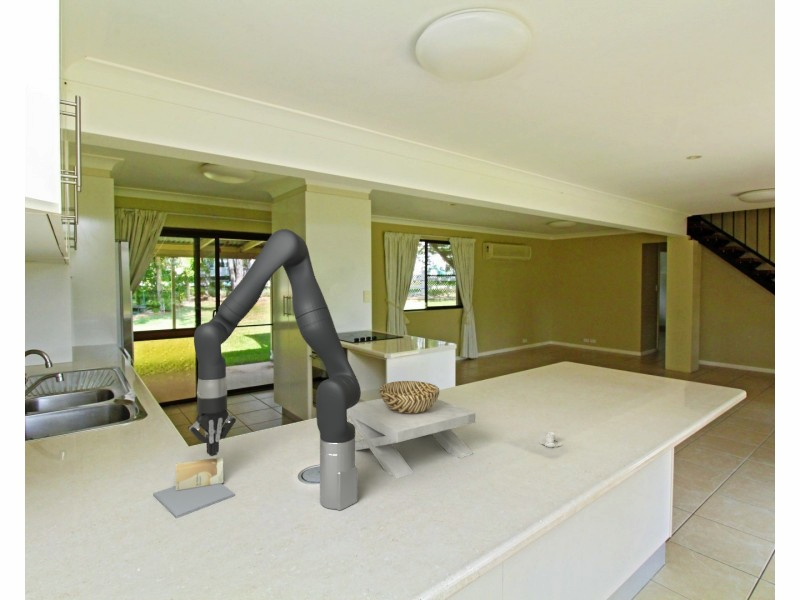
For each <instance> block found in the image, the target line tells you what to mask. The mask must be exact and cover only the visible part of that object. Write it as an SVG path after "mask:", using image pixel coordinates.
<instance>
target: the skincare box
mask: <svg viewBox="0 0 800 600" xmlns="http://www.w3.org/2000/svg"><path fill="white" fill-rule="evenodd" d="M224 475H225V474H224V458H223V456H219V457H213V458H212V457H211V458H206V459H204V458H203V459H199V460H191V461H183V462H178V463H176V464H175V486H176V491H178V490H184V489H190V488H196V487H202V486H208V485H214V484H220V483H221V484H223V483H224V481H225V480H224V479H225V478H224Z"/></svg>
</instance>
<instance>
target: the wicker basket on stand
mask: <svg viewBox="0 0 800 600" xmlns="http://www.w3.org/2000/svg"><path fill="white" fill-rule="evenodd" d="M379 393H380V397H381V398H376V399H372V400H365V401H361V402H360V401H359V402H358V403H357V404H356V405H355V406H353V407H351V408H349V409H347V418H349V421H350V423H352V424H353V425H354V426H355V430H357V432H358V433H359V435H360V436H361V438H362V439H363V440H360V441H355V451H359V450H360V451H361V450H365V449H369V450H370V451H371V452H372V454H373V455H374V457H375V458H376V460H377V462H379V464H380V466H381V467H382V469H383V470H384V471H385V472H387V473H388V474H389V475H391V476H393V477H394V478H395V479H398V478H399V479H400V478H402V477H406V476H409V475H412V474H414V471H413V470H412V468H411V467H410V466H409V464H408V463H407V462H406V460H405V459H404V458H403V456H402V455H401V454H400V452H399V451H398V450H397V448H396V447H395V446H394V444H396V443H401V442H404V441H408V440H409V441H410V440H412V439H416V438H420V437H424V436H428V435H432V437H434V438H435V439H436V441H437V442H438V443H439V445H441V447H442V448H443V449H444V451H446V452H447V453H449V454H451V455H452V454H453V456H454V455H455V457H456V456H457V458H458V457H459V458H458V459H461V458H460V457H462V458H464V456H465V457H468V456H470V455H469V454H471V455H473V454H472V453H473V451H472V450H471V449H470V448H469V447H468V446H467V445H466V443H464V442H463V440H462V439H461V438H460V437H459V436H458V435H457V434H456V432H454V431H453V429H455V428H459V427H464V426H466V425H467V426H468V425H470V424H474V423H476V412H474V411H470V410H468V409H465V408H462V407H459V406H458V405H455V404H452V403H449V402H446V401H444V400H440V399H439V396H440V388H439V387H438V386H436V384H433V383H429V382H425V381H418V380H417V381H416V380H400V381H399V380H398V381H393V382H388V383H384V384H382V385H381V386H380V387H379ZM467 455H468V456H467ZM411 473H412V474H411ZM408 474H409V475H408ZM405 475H406V476H405Z"/></svg>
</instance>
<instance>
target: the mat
mask: <svg viewBox="0 0 800 600" xmlns="http://www.w3.org/2000/svg"><path fill="white" fill-rule="evenodd" d="M152 495H153V497H154V498H155V499H156V500H157V501H159V503H160V504H161V505H162V506H163V507H164V508H165V509H166V510H168V512H169V513H170V514H171V515H172V516H173V517H174V518H175V519H178V518H180V517H183V516H186V515H188V514H191V513H194V512H196V511H199V510H201V509H204V508H207V507H209V506H211V505H215V504H217V503H220V502H222V501H225V500H227V499H231V498H233V497H235V496H236V494H235V492H233V491H232V490H231V489H229V488H228V487H226V486H225V485H224V484H223V483H220V484H214V485H208V486H202V487H196V488H190V489H184V490H178V491H176V485H174V486H171V487H167V488H165V489H162V490H159V491H157V492H153V493H152Z"/></svg>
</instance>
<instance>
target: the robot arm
mask: <svg viewBox="0 0 800 600" xmlns="http://www.w3.org/2000/svg"><path fill="white" fill-rule="evenodd" d="M281 267H282V268H283V269H284V272H285V274H286V276H287V278H288V279H287V280H288V281H289V284H290V288H291V293H292V294H291V298H292V308H293V309H292V310H293V314H294V319H295V321H296V325H297V327H298V330H299V333H300V334H301V337H302V338H303V341H305V343H306V344H307V345H308V346H309V347H310V349H311V350H312V351H313V352H314V353H315V354H316V355H317V356H318V357H319V359H320V360H321V361H322V363H323V365H324V367H325V370H326V373H327V376H328V378H327V379H325V380H322V381H321V382H320V384H319V385H318V386H317V389H316V394H315V410H316V426H317V429H318V432H319V503H320V505H321V506H322V507H324V508H326V509H331V510H337V511H342V510H344V509H346V508H348V507H349V506H351V505H354V504H356V503H357V502H358V470H359V469H358V466H356V450H355V442H356V427H355V426H354V424H353V423H352V422H351V421H348V416H347V409H349V408H351V407H353V406H355V405H356V404H357V403H359V402H360V399H361V396H362V395H361V394H362V393H361V392H362V391H361V385H360V383H359V380H358V378H357V375H356V374H355V371H354V370H353V368H352V365H351V364H350V362H349V359H348V357H347V356H346V352H345V350H344V348H343V345H342V343H341V340H340V337H339V335H338V332H337V330H336V327H335V324H334V320H333V318H332V315H331V312H330V309H329V307H328V304H327V302H326V299H325V296H324V295H323V292H322V289H321V287H320V285H319V283H318V281H317V278H316V276H315V272H314V269H313V265H312V261H311V256H310V252H309V248H308V245H307V243H306V241H305V240H304V239H303V238H302V237H301V236H299V234H297V233H296V232H295V231H293V230H291V229H287V228H282V229H281V228H280V229H278V230H276V231H274V232H273V233H272V234H271V235H270V236H269V238H268V239H267V240H266V243H265V244H264V245H263V247H262V249H261V251H260V253H259V254H258V255H257V257H256V258H255V260H254V261H253V263H252V264H251V266H250V268H249V269H248V271H247V272H246V273H245V275H244V276H243V277H242V279H241V280H240V281H239V282H238V284H236V286H235V287H234V288H233V290H231V291H230V293H229V294H228V295H227V296H226V297H225V299H223V301H222V302H221V303H220V304H219V306H218V310H217V312H216V313H215V315H213V317H211V319H210V320H209V321H207V322H204V323H201V324H199V325H198V326H197V327H196V329H195V331H194V335H193V345H194V351H195V355H196V359H197V362H198V368H197V369H198V370H197V373H198V374H197V376H198V377H197V379H198V380H197V389H196V390H197V391H196V397H197V398H196V399H197V417H196V419H195V422H194V423H193V424H192V425H188V427H187V430H188V431H189V432H190V433H191V434H193V436H195V438H197V439H198V440H199V441H200V442H201V443H203V444H206V453H207V455H208V456H210V457H214V456H218V453H219V451H220V441H221V439H225V438H226V437H227V435H228V434H229V433H230V431H231V429H232V427H233V426H234V424H235V423H236V420H237V418H235V417H234V416H230V415H229V411H228V383H227V362H226V358H225V357H224V356H223V355H222V347H221V345H222V344H224V343H225V342H226V341H227V340H228V339H229V338H230V336H231V335H232V334H233V333H234V331H235V329H236V328H237V327H238V326H239V324H240V322H241V321H242V320H244V318H245V317H246V316H247V315H248V313H250V311H251V310H252V309H253V308H254V307H255V306H256V304H257V303H258V302H259V299H261V295H262V294H263V291H264V289H265V287H266V285H267V284H268V282H269V280H270V279H271V277H272V276H273V275H274V274H275V273H276V272H277V271H278V270H279V269H280V268H281ZM200 429H203V431H204V434H205V435H203V434H202V433H201V432H200Z"/></svg>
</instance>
